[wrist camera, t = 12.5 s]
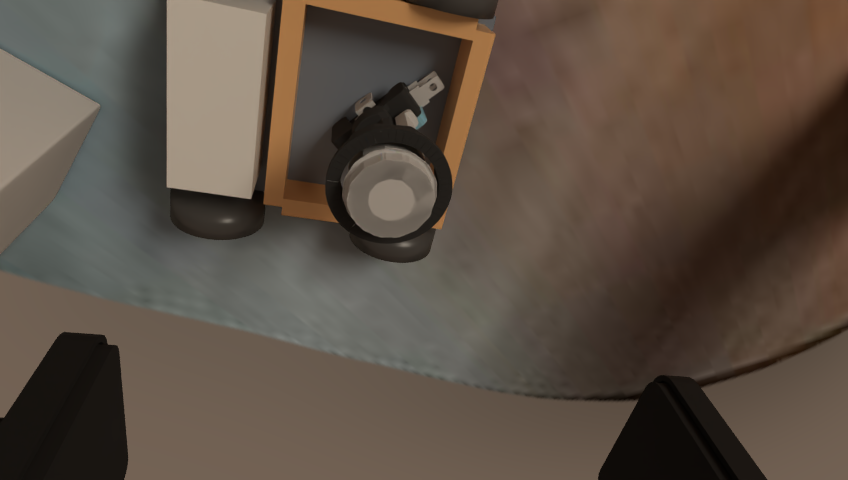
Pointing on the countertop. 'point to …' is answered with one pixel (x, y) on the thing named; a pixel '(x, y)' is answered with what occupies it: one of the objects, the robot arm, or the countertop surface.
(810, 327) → the countertop surface
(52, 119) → the milk carton
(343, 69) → the chassis
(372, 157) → the push button
